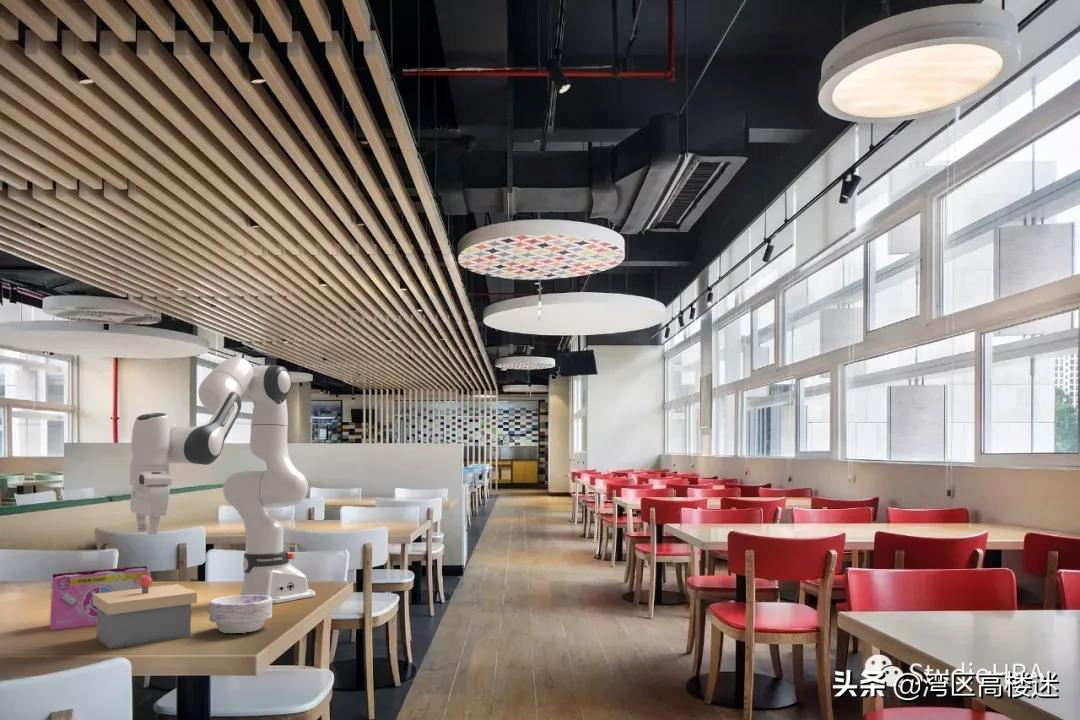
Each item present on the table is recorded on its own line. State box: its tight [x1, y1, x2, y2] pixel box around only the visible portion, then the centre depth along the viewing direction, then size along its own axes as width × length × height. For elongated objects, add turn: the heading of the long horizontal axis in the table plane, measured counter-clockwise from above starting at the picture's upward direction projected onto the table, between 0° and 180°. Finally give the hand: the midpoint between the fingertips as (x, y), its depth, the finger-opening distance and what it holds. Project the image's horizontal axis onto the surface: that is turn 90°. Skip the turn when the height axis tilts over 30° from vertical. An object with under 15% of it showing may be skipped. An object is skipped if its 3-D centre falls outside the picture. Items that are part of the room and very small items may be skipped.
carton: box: [96, 604, 192, 650], centre depth 202 cm, size 18×14×10 cm
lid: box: [92, 575, 198, 615], centre depth 202 cm, size 20×16×7 cm
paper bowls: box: [208, 594, 273, 634], centre depth 208 cm, size 15×15×8 cm
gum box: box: [49, 565, 152, 631], centre depth 220 cm, size 24×8×14 cm, turn 123°
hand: (147, 532), depth 203 cm, fingers open, 8 cm apart
